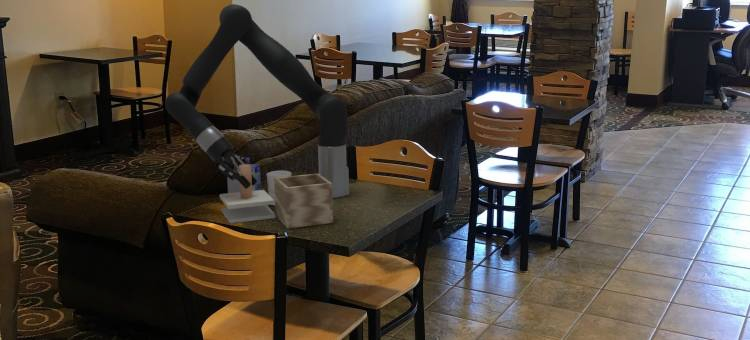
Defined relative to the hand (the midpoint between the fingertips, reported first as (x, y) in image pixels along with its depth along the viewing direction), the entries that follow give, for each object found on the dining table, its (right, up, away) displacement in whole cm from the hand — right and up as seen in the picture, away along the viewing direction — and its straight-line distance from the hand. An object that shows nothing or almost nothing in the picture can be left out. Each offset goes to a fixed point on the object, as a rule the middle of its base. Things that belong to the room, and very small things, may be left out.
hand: (251, 185), depth 248 cm
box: (+16, -10, -3) cm, 20 cm away
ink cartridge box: (-5, -6, +18) cm, 20 cm away
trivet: (-1, -9, +3) cm, 10 cm away
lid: (-2, -5, +2) cm, 6 cm away
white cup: (+7, -6, +15) cm, 18 cm away
